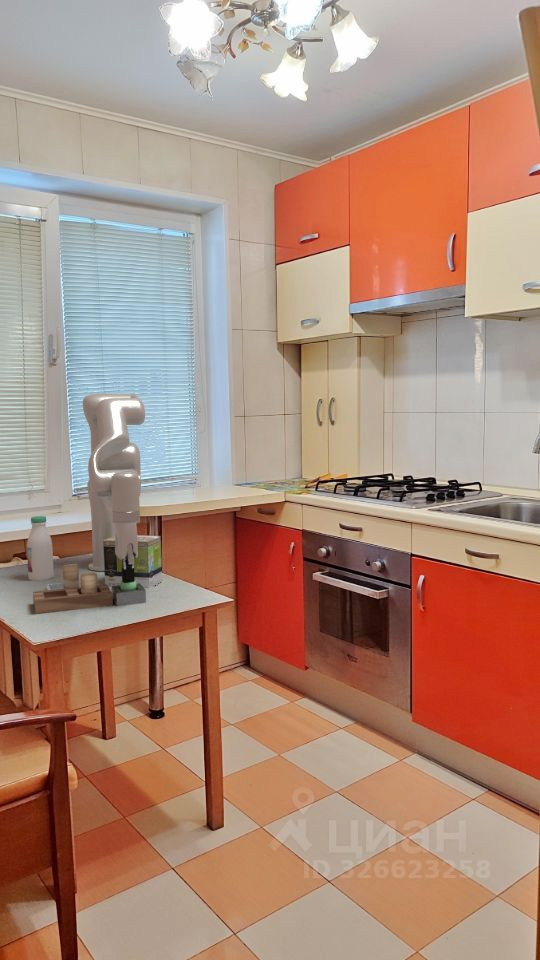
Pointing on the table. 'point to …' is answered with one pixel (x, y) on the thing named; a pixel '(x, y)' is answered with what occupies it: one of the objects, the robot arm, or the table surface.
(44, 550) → the milk bottle
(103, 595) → the wooden dowel rack
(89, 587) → the seated dowel
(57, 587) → the shallow grey square tray
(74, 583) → the dowel
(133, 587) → the button
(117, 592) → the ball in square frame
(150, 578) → the tea box
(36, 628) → the table surface
